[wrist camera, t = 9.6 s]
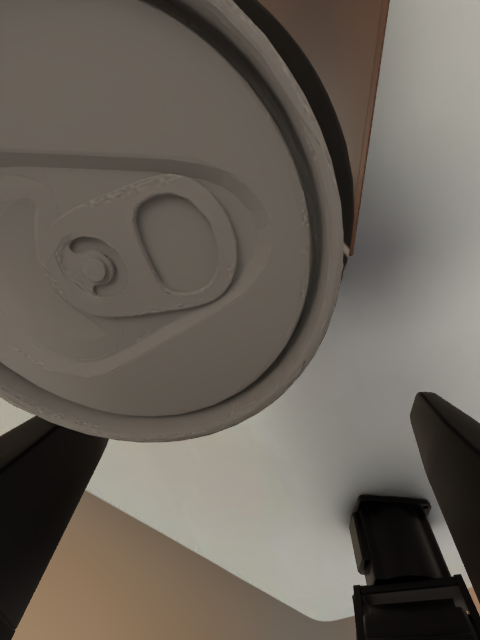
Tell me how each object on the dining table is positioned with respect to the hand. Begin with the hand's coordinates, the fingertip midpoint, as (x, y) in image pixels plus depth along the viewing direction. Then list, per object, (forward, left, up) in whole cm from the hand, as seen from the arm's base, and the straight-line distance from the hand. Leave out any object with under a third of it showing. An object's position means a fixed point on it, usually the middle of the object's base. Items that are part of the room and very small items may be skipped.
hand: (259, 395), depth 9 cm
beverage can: (+2, -5, -8) cm, 10 cm away
